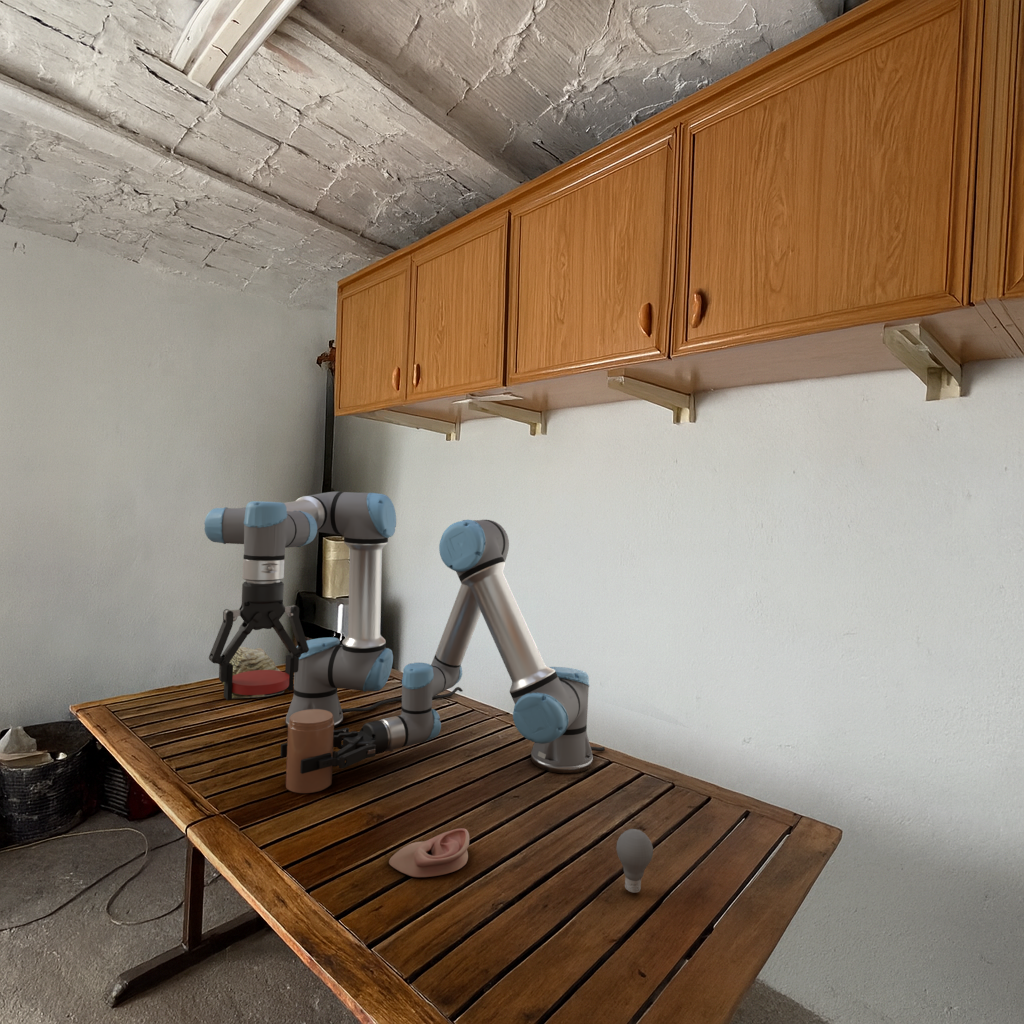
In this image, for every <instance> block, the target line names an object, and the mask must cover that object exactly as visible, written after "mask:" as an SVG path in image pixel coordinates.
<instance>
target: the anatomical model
mask: <svg viewBox="0 0 1024 1024" xmlns="http://www.w3.org/2000/svg"><path fill="white" fill-rule="evenodd" d="M469 846H470V832H469V831H468V829H466V828H463V827H460V828H455V829H451V830H447V831H445V832H442V833H440V834H437V835H435V836H434V837H431V838H430V839H426V840H424V841H415V842H412V843H409V844H406V845H405V846H404V847H401V848H400V849H398V850H397V851H396V852H395V853H394V854H393V855H392V856H391V857H390V858H389V860H388V865H390V866H391V867H392V868H393V869H395V870H397V871H398V872H400V873H402V874H404V875H406V876H409V877H411V878H429V877H437V876H443V875H448V874H450V873H453V872H456V871H458V870H460V869H462V868H463V867H464V866H466V864H467V862H468V860H469V852H468V849H469Z"/></svg>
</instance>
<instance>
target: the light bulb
mask: <svg viewBox="0 0 1024 1024" xmlns="http://www.w3.org/2000/svg"><path fill="white" fill-rule="evenodd" d="M615 849H616V854H617V857H618V859H619V861H620V863H621V865H622V867H623V873H624V874H623V875H624V876H625V878H624V888H625V890H627V891H628V892H630V893H634V894H635V893H639V892H640V891H641V889H642V887H641V886H642V879H643V877H644V875H645V871H646V868H647V867H648V866H649V864H650V863H651V861H652V859H653V855H654V847H653V843H652V841H651V838H649V836H648V835H647V834H646V833H645V832H643V831H642V830H641V829H636V828H629V829H627V830H625V831H623V832H622V833H621V834H620V835H619V837H618V839H617V841H616V847H615Z"/></svg>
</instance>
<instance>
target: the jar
mask: <svg viewBox="0 0 1024 1024" xmlns="http://www.w3.org/2000/svg"><path fill="white" fill-rule="evenodd" d="M334 730H335V728H334V720H333V714H332V713H331V712H329V711H327V710H321V709H309V710H303V711H299V712H296V713H294V714H292V715H291V716H290V718H289V723H288V727H287V735H286V737H287V738H286V743H287V756H286V765H285V770H286V771H285V788H286V789H287V790H288V791H290V792H293V793H297V794H312V793H317V792H321V791H323V790H326V789H327V788H329V787H330V786H331V785H332V784H333V768H334V767H333V766H330V767H326V768H322V769H318V770H315V771H311V772H307V773H303V774H301V773H300V771H301V760H303V759H307V758H311V757H315V756H318V755H322V754H326V753H331V757H332V756H333V751H334V747H333V742H334Z"/></svg>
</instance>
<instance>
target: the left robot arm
mask: <svg viewBox="0 0 1024 1024" xmlns="http://www.w3.org/2000/svg"><path fill="white" fill-rule="evenodd" d="M396 514H397V513H396V508H395V505H394V503H393V501H392V499H391V498H390V497H389V496H388V495H387V494H384V493H377V492H355V491H354V492H352V491H351V492H350V491H327V492H322V493H315V494H310V495H302V496H301V497H299V498H297V499H296V500H294V501H285V502H281V501H259V500H258V501H256V500H255V501H254V500H252V501H249V502H247V504H246V506H245V507H237V508H235V507H233V508H232V507H231V508H230V507H226V506H225V507H215V508H212V509H211V510H209V512H207V514H206V516H205V519H204V523H203V524H204V529H203V530H204V534H205V536H206V537H207V539H208V540H209V541H211V542H213V543H219V544H223V545H226V544H229V545H232V544H233V545H243V561H242V576H241V577H242V579H243V580H244V581H243V583H242V584H241V605H240V607H239V608H238V609H228V608H225V609H224V610H223V611H222V623H221V626H220V627H219V630H218V632H217V636H216V638H215V640H214V643H213V645H212V648H211V651H210V653H209V656H208V660H209V661H210V662H211V663H212V664H218V679H219V682H220V683H223V682H224V685H223V697H224V698H225V700H226V701H232V700H233V698H232V681H233V665H232V664H231V663H230V661H231V659H232V658H233V656H234V655H235V653H236V652H237V650H238V649H239V647H242V644H243V643H244V642H245V640H246V638H247V637H248V636H249V635H250V634H251V633H252V631H253V630H254V631H259V630H262V629H265V630H272V629H273V630H274V632H275V633H276V635H277V636H278V637H279V639H280V640H281V642H282V643H283V645H284V647H285V648H286V650H287V651H288V653H289V654H286V655H285V665H284V666H285V667H284V669H285V671H284V672H285V673H287V674H289V686H288V688H286V690H287V691H288V692H292V691H293V695H292V696H293V697H292V699H291V702H290V704H289V708H288V711H287V713H286V715H285V726H286V728H288V723H289V718H290V716H291V715H292V714H294V713H296V712H299V711H303V710H309V709H321V710H327V711H329V712H331V713H332V714H333V720H334V729H335V728H337V727H339V726H340V725H342V723H343V722H344V714H343V713H351V712H353V713H354V712H355V713H356V712H368V711H371V710H372V711H373V710H374V709H375V708H377V707H379V706H382V705H386V704H390V703H396V702H402V696H401V697H395V698H389V699H385V700H380V701H378V702H376V703H374V704H372V705H370V706H367V707H349V708H342V706H341V702H340V699H339V695H338V689H342V690H343V689H344V690H351V691H353V690H354V691H359V692H360V691H362V692H365V693H366V692H379V691H381V690H382V689H383V688H384V687H385V685H386V684H387V682H388V680H389V678H390V675H391V673H392V668H393V664H394V663H393V662H394V654H393V650H392V649H391V648H389V647H386V644H387V643H386V639H385V638H384V637H383V636H382V634H381V619H382V618H381V616H382V613H381V612H382V575H383V573H382V571H383V568H382V567H383V549H384V548H385V547H386V545H388V543H389V538H391V537H394V535H395V532H396V527H397V515H396ZM318 533H323V534H333V535H340V536H341V535H343V543H344V545H346V546H347V547H348V549H349V565H348V566H349V569H348V570H349V571H348V617H347V618H348V619H347V620H348V623H347V625H348V627H347V628H348V630H347V631H348V632H347V636H346V637H345V638H344V639H343V640H342V641H340V639H339V638H338V637H334V636H331V637H330V636H329V637H318V638H313V639H306V635H305V633H304V629H303V626H302V623H301V620H300V607H299V606H298V605H295V604H290V605H284V589H285V587H284V586H285V584H284V582H283V581H282V580H283V579H285V562H286V561H285V559H286V548H301V547H303V546H306V545H308V544H310V543H311V542H313V541H314V539H315V538H316V536H317V534H318ZM284 614H285V615H286V616H287V617H288V619H289V622H290V625H291V629H292V632H293V635H294V638H295V641H296V644H297V645H295V643H294V642H293V640H292V638H291V637H290V635H289V633H288V632H287V631H286V629H285V626H284V625H283V624H282V622H281V620H280V619H281V618H282V617H283V615H284ZM238 617H240V618H241V620H242V622H241V624H240V626H239V627H238V630H237V631H236V633H235V635H234V636H233V637H232V639H231V640H230V642H229V643H228V645H227V646H226V643H227V641H228V638H229V635H230V634H231V632H232V631H231V630H232V628H233V626H234V622H236V621H237V619H238ZM340 643H341V644H340ZM225 646H226V647H225ZM463 691H464V690H463V689H462V688H461V687H460V686H456V687H454V689H453V690H452V691H451V692H449V693H446V694H437V695H435V696H434V697H432V700H436V699H445V698H449V697H453V695H454V694H456V692H460V693H461V692H462V693H463Z"/></svg>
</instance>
